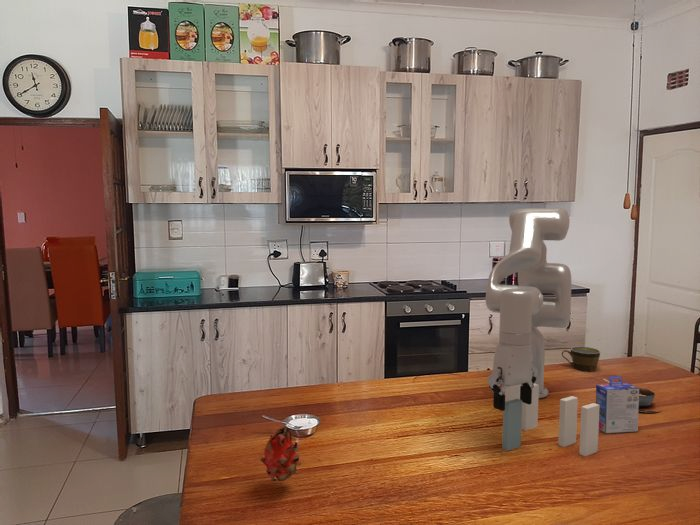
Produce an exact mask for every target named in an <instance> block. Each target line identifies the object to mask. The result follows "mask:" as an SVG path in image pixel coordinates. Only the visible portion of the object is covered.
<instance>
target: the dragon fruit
mask: <svg viewBox="0 0 700 525" xmlns="http://www.w3.org/2000/svg"><path fill="white" fill-rule="evenodd" d="M298 451H299V447H298V442H297V441H295V442H294V443H293V442H292V431H291V430H290V429H289V428H286V427H282V428H280V429H278V430H277V431H276V432H275V433H274V434H273V435H270V437H269V439H268V441H267V443H266V445H265V448H264V452H263V453H264V454H263V455H264V457H260V462H261V463H263V464H264V465H265V467H266V470H265V471H266V473H267V475H269V478H270V481H271V482H275V481H278V482H284V481H286V480H287V479H290V478H291V477H292V476H293V475H296V474H297V467H299V466H301V465H302V462H300V454H299V453H298Z"/></svg>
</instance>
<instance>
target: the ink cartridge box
mask: <svg viewBox="0 0 700 525" xmlns="http://www.w3.org/2000/svg"><path fill="white" fill-rule="evenodd" d="M614 379H615V380H619V381H613V380H614ZM608 381H609V382H610V383H609V382H608V383H603V384H596V385H595V404H598V405H600V408H599V430H600V431H601V432H603V433H604V434H615V433H616V434H617V433H629V432H638V430H639V412H638V410H639V408H638V407H639V388H640V387H638V388H637V386H635V385H633V384H632V383H631V384H630V383H628V382H623V380H622V378H621V376H620V375H613V376H612V375H610V376H609V375H608Z"/></svg>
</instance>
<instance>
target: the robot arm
mask: <svg viewBox="0 0 700 525" xmlns="http://www.w3.org/2000/svg"><path fill="white" fill-rule="evenodd" d="M508 222H509V226H510V230H511V238H510V245H509V252H508V253H507V255H505V256H503V257H502V258H501V259H500V260H499V261H498V262H497V263H496V264H495V265H494V266H493V268H492V269H491V271H490V273H489V275H488V280H487V285H486V293H485V305H486V307H487V309H488V310H489V311H491V312H492V313H496V314H499V332H498V336H499V338H498V343H497V344H496V347H495V352H494V356H493V364H492V372H491V374H490V375H488V376H487V379H486V380H487V382H488V387H489V388H490V389H491V392H492V393H493V401H492V402H493V408H494V409H496V410H499V411H501V412H503V411H504V410H505V390H506V388H507V386H514V385H519V384H521V386H520V400H522V402H523V403H526V404H531V403H532V389H531V388H533V387H534V383H535V384H538V385H539V397H538V399H542V398H546V397H547V396H549V389H548V388H546V387H544V385H545V384H544V381H545V380H544V379H545V378H544V377H545V355H546V354H545V348H546V340H545V338H544V335H543V334H542V332H541V331H540V330H539V329H538V328H539V327H542V328H543V327H544V328H555V329H564V328H567V327H568V326H569V324H570V321H571V312H572V311H571V309H572V308H571V306H572V273H571V272H572V271H571V270H570V268H569V266H568V265H567V264H564V263H559V262H558V263H557V262H556V263H555V262H548V261H547V251H548V248H547V245H546V244H545V242H544V241H558V242H559V241H563V240H564V239H566V236H567V234H568V232H569V229H570V228H569V227H570V214H569V212H568V210H567V209H565V208H562V207H561V208H559V207H558V208H557V207H555V208H553V207H549V208H548V207H547V208H546V207H545V208H544V207H543V208H541V207H540V208H539V207H536V208H535V207H530V208H529V207H527V208H517V209H513V210H512V211H511V212H510V214H509V215H508ZM514 274H517V284H518V285H514V284H513V285H512V284H501V282H502V281H503V280H504V279H506V278H507V277H509V276H511V275H514ZM544 293H545V294H552V295H554V296H555V297H549V296H544V295H543V294H544ZM500 386H501V387H500Z"/></svg>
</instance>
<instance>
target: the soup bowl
mask: <svg viewBox="0 0 700 525" xmlns="http://www.w3.org/2000/svg"><path fill="white" fill-rule="evenodd" d="M603 380H604V381H605V382H607V383H608V384H610V382H609V380H608V379H606V378H603ZM636 387H637V386H636ZM637 388H639V407H638V413H643V412H644V414H645V413H647V414H649V413H650V414H651V413H652V414H653V413H656V411H653V410H646V411H645V409H641V408H648V407H650V406H651V405H652V403H653V402H654V399H655V395H656V394H655V392H654V391H652V390H650V389H647V388H642V387H637ZM639 408H640V409H639ZM661 411H662V410H660V411H658V413H662V412H661Z"/></svg>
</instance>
